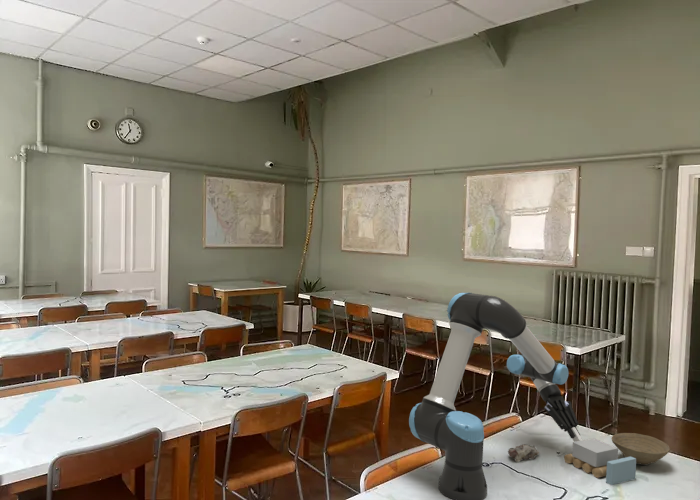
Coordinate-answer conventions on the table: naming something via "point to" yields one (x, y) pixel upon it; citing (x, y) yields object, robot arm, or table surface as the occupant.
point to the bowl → (640, 447)
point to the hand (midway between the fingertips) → (581, 445)
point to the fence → (621, 470)
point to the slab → (594, 452)
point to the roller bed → (586, 466)
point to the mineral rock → (523, 452)
